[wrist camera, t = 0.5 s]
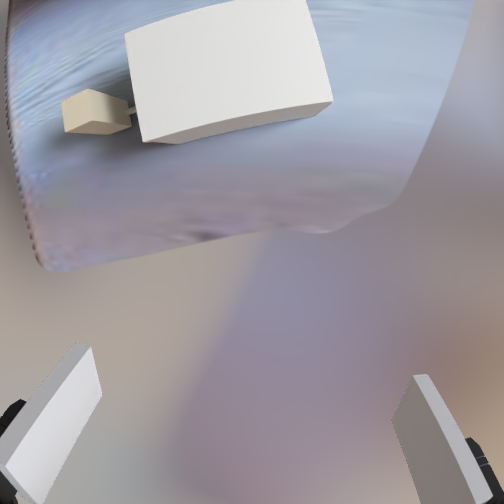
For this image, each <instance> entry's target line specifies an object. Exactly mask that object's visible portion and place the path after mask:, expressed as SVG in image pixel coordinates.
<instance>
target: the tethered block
mask: <svg viewBox="0 0 504 504" xmlns="http://www.w3.org/2000/svg"><path fill="white" fill-rule="evenodd" d="M61 107H62V114H63V121H64V128H65V133H86V134H101V135H110V134H112V133H115V132H118V131H120V130H123V129H126V128H129V127H132V124H131V119H130V114H133V113H136V112H137V110H136V106H135V107H132V108H128V102H127V101H126V100H123V99H120V98H117V97H114V96H110V95H107V94H104V93H101V92H98V91H95V90H91V89H85V90H83V91H81V92H79V93H77V94H75V95H73V96H71V97H69V98H67V99H65V100H63V101H61Z"/></svg>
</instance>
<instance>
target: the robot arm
mask: <svg viewBox="0 0 504 504" xmlns="http://www.w3.org/2000/svg"><path fill="white" fill-rule="evenodd" d="M101 396H102V390H101V387H100V383H99V379H98V375H97V371H96V367H95V362H94V358H93V353H92V349H91V346H88V345H84V344H80V343H75V344H74V345H73V346H72V347H71V349H70V350H69V351H68V352H67V353H66V355H65V356H64V357H63V358H62V359H61V361H60V362H59V363H58V364H57V365H56V367H55V368H54V369H53V370H52V372H51V373H50V374H49V375H48V376H47V378H46V379H45V380H44V381H43V382H42V384H41V385H40V386H39V387H38V389H37V390H36V391H35V393H34V394H33V395H32V397H31V398H30V399H29V400H28V401H27V402H26V401H24V400H21V399H20V400H18V401H17V402H15V403H13V404H12V405H10V406H9V408H8V409H7V410H6V411H5V412H4V414H3V416H1V418H0V504H18V501H17V499H16V497H15V494H16V492H17V491H18V492H19V494H20V495H22V497H23V498H24V499H26V500H28V501H29V502H31V503H33V504H43V503H44V500H45V499H46V497H47V494H48V493H49V490H50V489H51V487H52V485H53V483H54V481H55V479H56V477H57V475H58V473H59V471H60V469H61V467H62V466H63V463H64V462H65V460H66V458H67V456H68V454H69V453H70V451H71V449H72V447H73V445H74V443H75V442H76V440H77V438H78V436H79V434H80V433H81V431H82V429H83V427H84V425H85V424H86V422H87V420H88V419H89V417H90V415H91V413H92V411H93V410H94V408H95V406H96V404H97V403H98V401H99V399H100V398H101ZM391 421H392V424H393V426H394V429H395V432H396V434H397V437H398V439H399V442H400V445H401V448H402V450H403V453H404V456H405V458H406V461H407V464H408V467H409V470H410V473H411V475H412V478H413V481H414V484H415V487H416V490H417V493H418V496H419V499H420V502H421V504H504V492H503V490H502V488H501V486H500V484H499V482H498V480H497V478H496V476H495V474H494V472H493V470H492V468H491V466H490V465H488V461H487V459H486V457H484V453H483V451H482V450H481V448H480V446H479V445H478V444H477V443H476V442H475V441H474V440H473V439H472V438H471V437H470V438H467V439H464V437H463V435H462V433H461V431H460V429H459V428H458V426H457V424H456V422H455V421H454V419H453V417H452V415H451V413H450V412H449V410H448V408H447V407H446V405H445V403H444V401H443V400H442V398H441V396H440V394H439V393H438V391H437V389H436V388H435V386H434V384H433V383H432V381H431V379H430V378H429V376H428V375H427V374H426V375H413V376H412V378H411V380H410V383H409V385H408V387H407V389H406V391H405V394H404V395H403V398H402V400H401V402H400V404H399V406H398V408H397V410H396V411H395V413H394V415H393V417H392V419H391Z"/></svg>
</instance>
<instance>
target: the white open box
mask: <svg viewBox="0 0 504 504" xmlns="http://www.w3.org/2000/svg"><path fill="white" fill-rule="evenodd" d="M125 41H126V49H127V56H128V62H129V69H130V75H131V81H132V87H133V93H134V99H135V104H136V110H137V115H138V120H139V125H140V130H141V135H142V140H143V142H145V143H148V142H160V143H170V144H182V143H186V142H190V141H194V140H198V139H202V138H206V137H210V136H214V135H218V134H222V133H227V132H231V131H236V130H240V129H245V128H250V127H255V126H260V125H265V124H271V123H276V122H282V121H287V120H293V119H300V118H306V117H313V116H316V115H317V114H318V113H320V112H321V111H322V110H324V109H325V108H326V107H327V106H329V105H330V104H331V103H332V102H333V97H332V93H331V88H330V84H329V80H328V76H327V72H326V68H325V64H324V61H323V57H322V53H321V50H320V46H319V43H318V39H317V36H316V32H315V29H314V26H313V22H312V19H311V16H310V13H309V10H308V7H307V3H306V0H235V1H230V2H225V3H220V4H216V5H212V6H208V7H204V8H200V9H196V10H192V11H189V12H185V13H182V14H178V15H175V16H172V17H169V18H166V19H163V20H160V21H157V22H154V23H151V24H148V25H145V26H143V27H140V28H137V29H135V30H132V31H130V32H127V33H125Z"/></svg>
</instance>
